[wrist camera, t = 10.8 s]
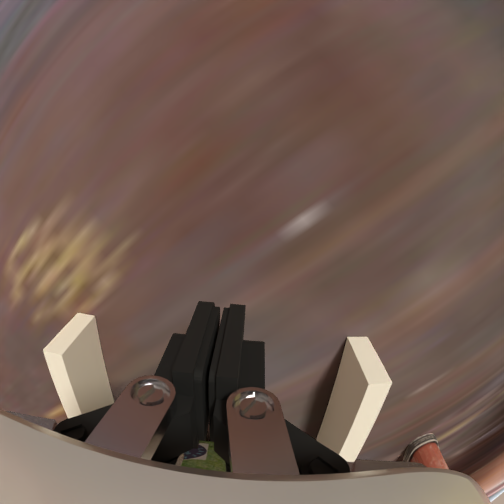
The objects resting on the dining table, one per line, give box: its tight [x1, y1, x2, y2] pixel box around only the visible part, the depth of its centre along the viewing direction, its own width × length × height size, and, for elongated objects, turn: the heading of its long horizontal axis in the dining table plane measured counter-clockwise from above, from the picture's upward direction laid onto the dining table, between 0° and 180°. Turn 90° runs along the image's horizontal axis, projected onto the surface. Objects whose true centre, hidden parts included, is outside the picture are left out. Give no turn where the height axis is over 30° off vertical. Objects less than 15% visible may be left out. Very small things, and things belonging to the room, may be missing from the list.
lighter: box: [403, 433, 449, 469], centre depth 16 cm, size 8×3×10 cm, turn 18°
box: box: [43, 313, 392, 462], centre depth 15 cm, size 16×20×8 cm
